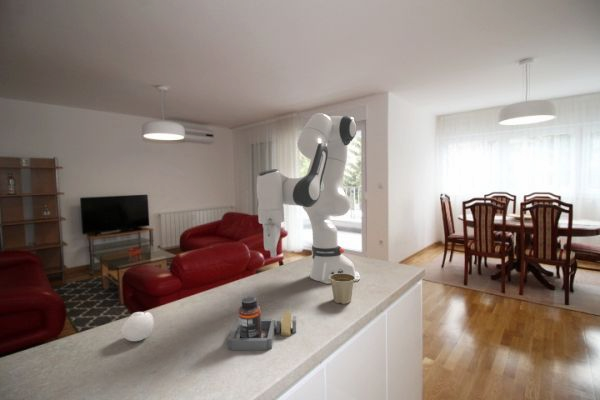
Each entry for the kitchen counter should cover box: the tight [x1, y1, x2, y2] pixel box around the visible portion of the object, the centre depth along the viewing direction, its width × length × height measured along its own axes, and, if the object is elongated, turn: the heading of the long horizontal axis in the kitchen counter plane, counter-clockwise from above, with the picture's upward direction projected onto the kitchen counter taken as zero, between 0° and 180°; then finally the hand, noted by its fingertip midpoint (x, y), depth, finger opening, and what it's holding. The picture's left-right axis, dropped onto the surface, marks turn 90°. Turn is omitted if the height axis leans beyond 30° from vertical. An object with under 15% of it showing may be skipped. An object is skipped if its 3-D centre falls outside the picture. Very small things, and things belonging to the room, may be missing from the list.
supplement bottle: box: [238, 296, 262, 338], centre depth 77 cm, size 6×6×11 cm
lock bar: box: [280, 311, 293, 337], centre depth 82 cm, size 8×2×3 cm, turn 179°
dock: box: [227, 315, 297, 351], centre depth 77 cm, size 18×11×4 cm, turn 89°
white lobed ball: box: [120, 311, 155, 342], centre depth 78 cm, size 8×8×8 cm
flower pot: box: [329, 273, 355, 305], centre depth 101 cm, size 9×9×9 cm
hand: (273, 256), depth 97 cm, fingers closed
